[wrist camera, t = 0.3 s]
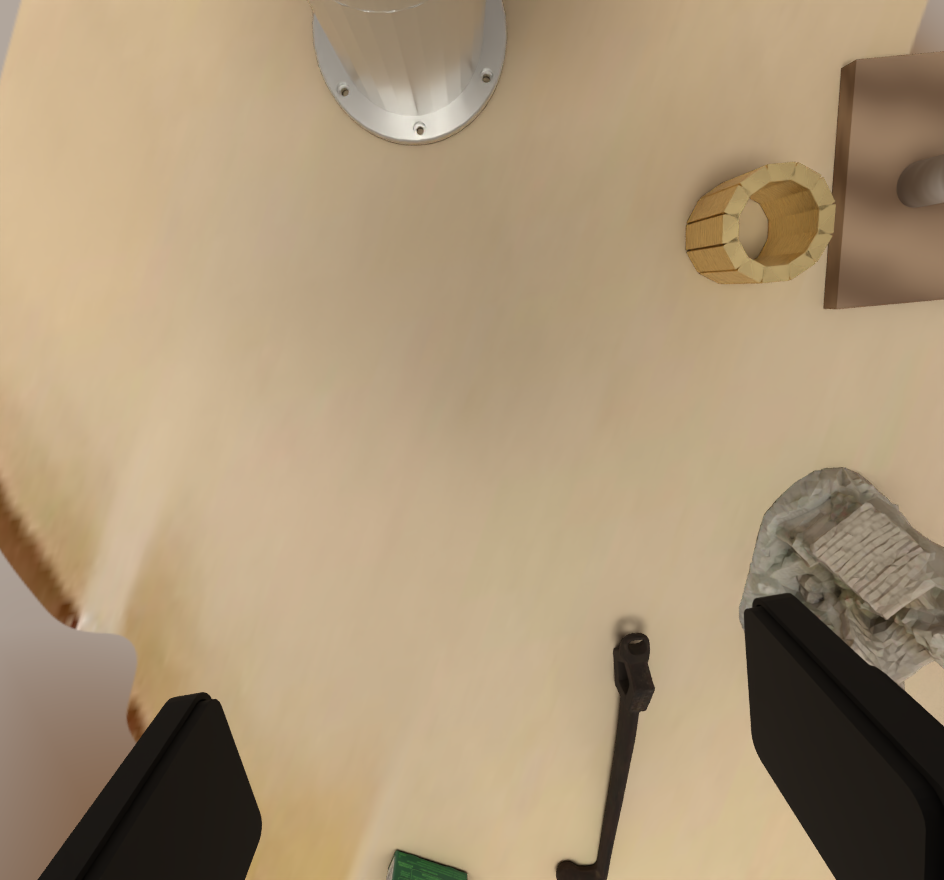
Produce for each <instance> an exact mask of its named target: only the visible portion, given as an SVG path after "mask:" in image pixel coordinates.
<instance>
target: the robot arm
mask: <svg viewBox="0 0 944 880" xmlns="http://www.w3.org/2000/svg"><path fill="white" fill-rule="evenodd" d="M307 1H308V2H309V4H310V6H311V8H312V10H313V21H312V27H313V44H314V49H315V53H316V57H317V62H318V66H319V68H320V71H321V73H322V76H323V78H324V80H325V83H326V85H327V87H328V88H329V90H330V92H331V93H332V95H333V97H334V98H335V99H336V101H337V102H338V104H339V105H340V106H341V108H342V109H343V110H344V112H345V113H346V114H347V115H348V116H349V117H350V118H352V119H353V120H354V121H355V122H356V123H357V124H358V125H359V126H360V127H362V128H364V129H365V130H367V131H368V132H370V133H372V134H373V135H375V136H377V137H380V138H382V139H385V140H387V141H390V142H394V143H400V144H406V145H420V144H429V143H433V142H437V141H441V140H444V139H446V138H448V137H450V136H452V135H454V134H456V133H458V132H459V131H461V130H462V129H463V128H465V127H466V126H467V125H468V124H470V123H471V122H472V121H473V120H474V119H475V118H476V117H477V116H478V114H479V113H480V112H481V111H482V110H483V109H484V108H485V106H486V104H487V103H488V101H489V99H490V98H491V96H492V94H493V93H494V91H495V88H496V86H497V83H498V80H499V78H500V75H501V72H502V67H503V63H504V58H505V51H506V40H507V30H506V15H505V10H504V6H503V2H502V0H307ZM485 76H487V77H489V79H490V81H489V82H488V83H485V82H483V80H482V79H483V77H485ZM344 90H348V91H349V94H348V95H347V96H342V92H343V91H344ZM419 128H422V129H423V130H424V133H423V134H422V135H418V134H417V130H418V129H419ZM744 629H745V644H746V659H747V674H748V689H749V703H750V718H751V733H752V739H753V743H754V746H755V749H756V752H757V754H758V756H759V758H760V760H761V762H762V763H763V765H764V766H765V768H766V770H767V771H768V773H769V774H770V776H771V777H772V779H773V781H774V782H775V784H776V785H777V787H778V789H779V790H780V792H781V793H782V795H783V796H784V798H785V800H786V801H787V803H788V804H789V806H790V808H791V809H792V811H793V812H794V814H795V815H796V817H797V819H798V820H799V822H800V823H801V825H802V827H803V828H804V830H805V831H806V833H807V834H808V836H809V838H810V839H811V841H812V842H813V844H814V846H815V847H816V849H817V850H818V852H819V853H820V855H821V857H822V858H823V860H824V861H825V863H826V865H827V866H828V868H829V869H830V871H831V872H832V874H833V876H834V877H835V879H836V880H944V726H943V725H942V724H941V723H940V722H938V721H937V720H936V719H935V718H934V717H933V716H932V715H931V714H930V713H929V712H927V711H926V710H925V709H924V708H923V707H922V706H921V705H920V704H919V703H918V702H916V701H915V700H914V699H913V698H912V697H911V696H910V695H909V694H908V693H907V692H905V691H904V690H903V689H902V688H901V687H900V686H899V685H898V684H897V683H896V682H894V681H893V680H892V679H891V678H890V677H889V676H888V675H887V674H886V673H884V672H883V671H881V670H880V669H879V668H877V667H875V666H872V665H869V664H868V663H867V662H866V661H865V660H864V659H862V658H861V657H860V656H859V655H858V654H857V653H856V652H855V651H854V650H853V649H852V648H851V647H849V646H848V645H847V644H846V643H845V642H844V641H843V640H842V639H841V638H840V637H839V636H838V635H836V634H835V633H834V632H833V631H832V630H831V629H830V628H829V627H828V626H827V625H826V624H825V623H823V622H822V621H821V620H820V619H819V618H818V617H817V616H816V615H815V614H814V613H813V612H812V611H810V610H809V609H808V608H807V607H806V606H805V605H804V604H803V603H802V602H801V601H800V600H799V599H797V598H796V597H795V596H794V595H792V594H791V593H782V594H776V595H770V596H765V597H759V598H755V599H754V600H753V603H752V608H747V609H745V611H744ZM261 830H262V820H261V814H260V811H259V808H258V806H257V803H256V800H255V797H254V795H253V792H252V789H251V786H250V783H249V781H248V778H247V775H246V772H245V770H244V767H243V764H242V761H241V758H240V756H239V753H238V750H237V747H236V745H235V742H234V739H233V736H232V734H231V731H230V728H229V725H228V722H227V720H226V717H225V714H224V711H223V709H222V706H221V704H220V702H219V701H218V700H217V699H211V697H210V695H208V694H207V693H204V692H201V693H196V694H190V695H184V696H178V697H173V698H171V699H169V700H168V701H167V702H166V703H165V705H164V706H163V707H162V709H161V710H160V712H159V713H158V714H157V716H156V717H155V718H154V720H153V721H152V723H151V724H150V725H149V727H148V728H147V729H146V731H145V732H144V734H143V735H142V736H141V738H140V739H139V740H138V742H137V743H136V745H135V746H134V747H133V749H132V750H131V752H130V753H129V754H128V756H127V757H126V758H125V760H124V761H123V763H122V764H121V765H120V767H119V768H118V769H117V771H116V772H115V774H114V775H113V776H112V778H111V779H110V781H109V782H108V783H107V785H106V786H105V788H104V789H103V790H102V792H101V793H100V794H99V796H98V797H97V798H96V800H95V801H94V803H93V804H92V805H91V807H90V808H89V809H88V811H87V813H86V814H85V815H84V817H83V818H82V819H81V821H80V822H79V823H78V825H77V826H76V827H75V829H74V830H73V832H72V833H71V834H70V836H69V837H68V838H67V840H66V841H65V843H64V844H63V845H62V847H61V848H60V850H59V851H58V852H57V854H56V855H55V856H54V858H53V859H52V861H51V862H50V863H49V865H48V866H47V867H46V869H45V871H44V872H43V873H42V874H41V876H40V877H39V879H38V880H245V878H246V875H247V872H248V870H249V867H250V864H251V862H252V859H253V856H254V854H255V851H256V848H257V846H258V843H259V840H260V836H261Z"/></svg>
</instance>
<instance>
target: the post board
mask: <svg viewBox="0 0 944 880" xmlns="http://www.w3.org/2000/svg"><path fill="white" fill-rule="evenodd" d="M832 196H833V198H834V200H835V202H834V203H832V204H831V205H833V204H836V208H835V221H834V233H831V234H830V235H832V238H831V240H830V241H829V244H828V258H827V271H826V284H825V298H824V309H844V308H855V307H866V306H877V305H887V304H898V303H909V302H920V301H931V300H942V299H944V51H942V52H932V53H921V54H911V55H900V56H890V57H879V58H869V59H859V60H855V61H853V62H852V63H850V64H848V65H847V66H845V67H843V68H842V70H841V83H840V97H839V110H838V123H837V137H836V150H835V164H834V177H833V191H832Z"/></svg>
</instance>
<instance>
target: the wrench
mask: <svg viewBox="0 0 944 880" xmlns="http://www.w3.org/2000/svg"><path fill="white" fill-rule="evenodd" d="M634 640H642V641H641V642H640V643H636V644H629V642H631V641H634ZM649 654H650V644H649V639H648V637H647V636H646V635H644V634H642V633H632V634H628V635H626V636H625V637H624V638H623V639H622V640H621V642H620V645H619V648H615V649H614V650H613V655H614V669H615V685H616V687H617V689H618V692H619V694H620V696H621V698H620V709H619V719H618V728H617V736H616V744H615V751H614V758H613V765H612V772H611V779H610V785H609V791H608V797H607V803H606V810H605V816H604V822H603V828H602V834H601V841H600V847H599V852H598V858H597V861H596V863H595V864H594V865H590V866H576V865H575V864H573V863H572V862H569V861H565V862H562V863H561V864H560V865H559V866H558V868H557V871H556V878H557V880H607V876H608V870H609V865H610V859H611V854H612V849H613V844H614V840H615V835H616V830H617V826H618V821H619V817H620V812H621V807H622V802H623V798H624V792H625V788H626V783H627V778H628V773H629V768H630V762H631V758H632V753H633V748H634V743H635V737H636V731H637V724H638V716H639V712H641V711H645V710H646V709H647V707H648V705H649V703H650V700H651V698H652V695H653V693H654V691H655V687H654V684H653V681H652V678H651V674H650V670H649V666H648V660H649Z"/></svg>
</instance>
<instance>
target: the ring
mask: <svg viewBox="0 0 944 880" xmlns="http://www.w3.org/2000/svg"><path fill="white" fill-rule="evenodd" d="M820 177H821V175H820V174H819V173H817V172H815V171H813V170H811V169H810V168H808V167H806V166H804V165H802V164H801V163H799V162H798V163H796V162H787V163H777V164H767V165H765V166H762V167H760V168H758V169H755V170H753V171H750V172H748V173H745V174H743V175H740V176H738V177H736V178H733V179H731V180H728V181H726V182H723V183H721V184H720V185H718V186H717V187H715V188H714V189H713V190H711V191H710V192H708V193H707V194H705V195H704V196H703V197H701V199H700V200H698V202H697V204H696V206H695V208H694V210H693V212H692V214H691V216H690V218H689V219H688V221H687V223H688V224H689V225H686V250H689V251H687V254H688V256H689V258H690V259H691V261H692V263H693V265H694V267H695V268H696V270H697V272H700V273H699V274H701V275H703V276H705V277H707V278H709V279H711V280H713V281H715V282H717V283H721V284H742V283H769V282H780V281H789V280H792V279H793V278H795V277H796V276H798V275H799V274H801V273H802V272H804V271H805V270H807V269H808V268H810V267H811V266H813V265H814V264H815V262H818V260H819V258H820V256H821V255H822V253H823V251H824V250H825V248H826V246H827V245H828V243H829V241H830V240H831V238H832V235H830V234H831V233H834V221H835V208H836V204H833V205H831V204H832V203H834V202H835V200H834V198H833V196H832V194H831V192H830V190H829V188H828V185H827V183H826V181H825V179H824V177H822V178H820ZM749 198H750V199H752V200H754V201H755V202H757V203H759V204H760V205H761V207H762V209H763V210H764V212H765V214H766V216H767V218H768V220H769V223H768V240H767V242H766V244H765V245H764V247H763V249H762V251H761V252H760V254H759V256H758V257H757V258H756V259H754V260H752V259H750V258H749V257H748V256H747V254H746V252H745V250H744V249H743V247H742V245H741V243H740V241H739V239H738V233H739V216H740V214H741V212H742V210H743V208H744V206H745V205H746V203H747V201H748V199H749Z"/></svg>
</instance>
